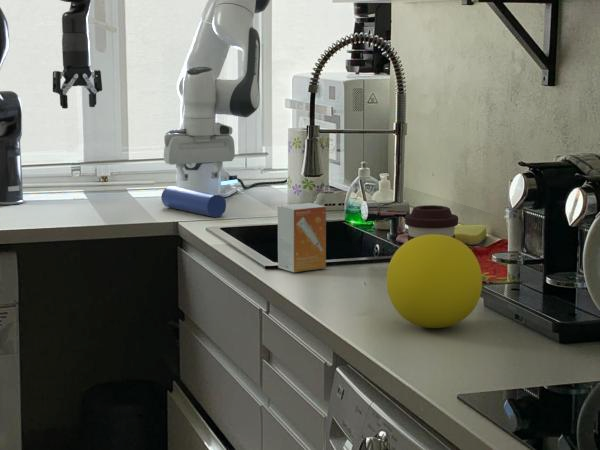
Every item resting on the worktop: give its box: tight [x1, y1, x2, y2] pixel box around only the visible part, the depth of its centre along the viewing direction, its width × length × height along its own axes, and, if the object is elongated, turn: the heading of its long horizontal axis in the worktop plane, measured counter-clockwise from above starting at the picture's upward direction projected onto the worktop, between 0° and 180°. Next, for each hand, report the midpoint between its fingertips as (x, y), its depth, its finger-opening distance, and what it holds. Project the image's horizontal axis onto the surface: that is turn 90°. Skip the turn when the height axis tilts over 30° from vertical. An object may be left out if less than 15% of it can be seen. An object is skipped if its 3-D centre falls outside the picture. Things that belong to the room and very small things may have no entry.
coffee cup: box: [404, 204, 459, 241], centre depth 197 cm, size 10×10×15 cm
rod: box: [161, 185, 227, 218], centre depth 291 cm, size 24×6×6 cm, turn 38°
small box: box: [277, 202, 327, 273], centre depth 214 cm, size 8×6×13 cm
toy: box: [386, 234, 483, 329], centre depth 168 cm, size 15×15×15 cm
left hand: (78, 107), depth 295 cm, fingers open, 8 cm apart
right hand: (199, 179), depth 283 cm, fingers open, 8 cm apart
